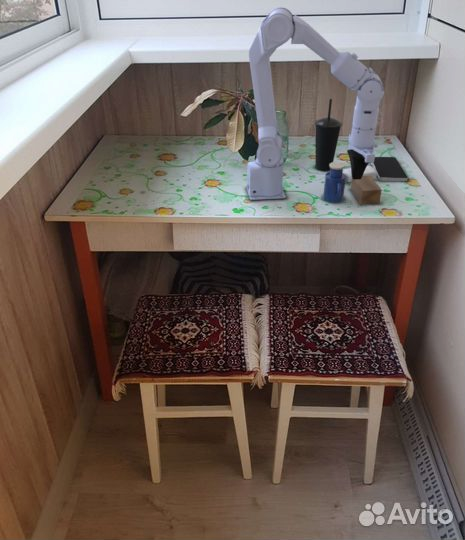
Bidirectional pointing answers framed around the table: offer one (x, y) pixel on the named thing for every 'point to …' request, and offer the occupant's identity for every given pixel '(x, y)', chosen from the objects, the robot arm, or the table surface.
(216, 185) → the table surface
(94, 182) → the table surface
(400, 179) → the smartphone
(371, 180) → the oak block
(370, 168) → the eye dropper bottle
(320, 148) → the drinking cup
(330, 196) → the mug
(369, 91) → the robot arm
